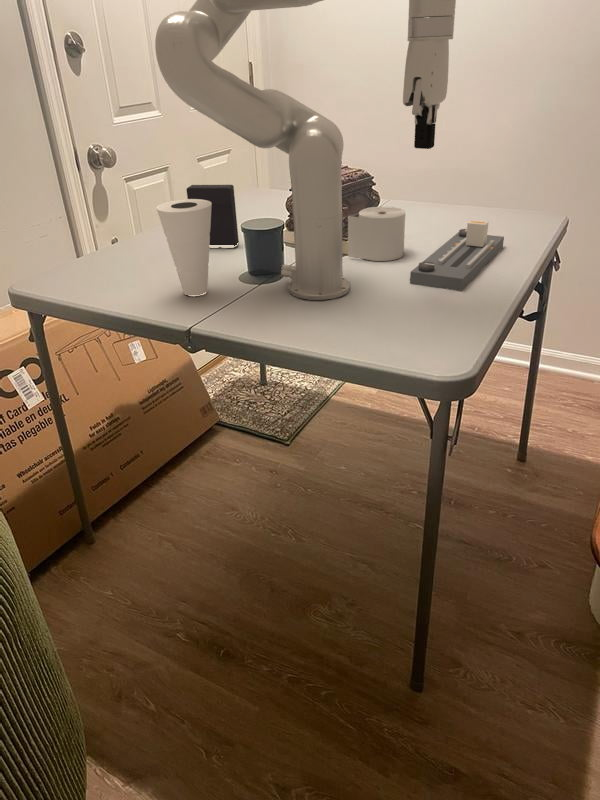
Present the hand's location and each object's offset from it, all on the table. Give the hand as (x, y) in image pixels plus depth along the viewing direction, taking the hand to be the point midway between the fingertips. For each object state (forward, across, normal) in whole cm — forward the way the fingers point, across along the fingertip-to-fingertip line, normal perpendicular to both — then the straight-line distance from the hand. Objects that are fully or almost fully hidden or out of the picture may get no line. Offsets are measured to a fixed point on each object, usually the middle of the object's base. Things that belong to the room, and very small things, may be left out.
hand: (424, 147), depth 113 cm
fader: (+24, -26, +4) cm, 36 cm away
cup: (+27, +20, -41) cm, 53 cm away
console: (+27, -19, +3) cm, 33 cm away
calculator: (+27, -9, -57) cm, 64 cm away
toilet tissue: (+27, -18, -16) cm, 36 cm away
